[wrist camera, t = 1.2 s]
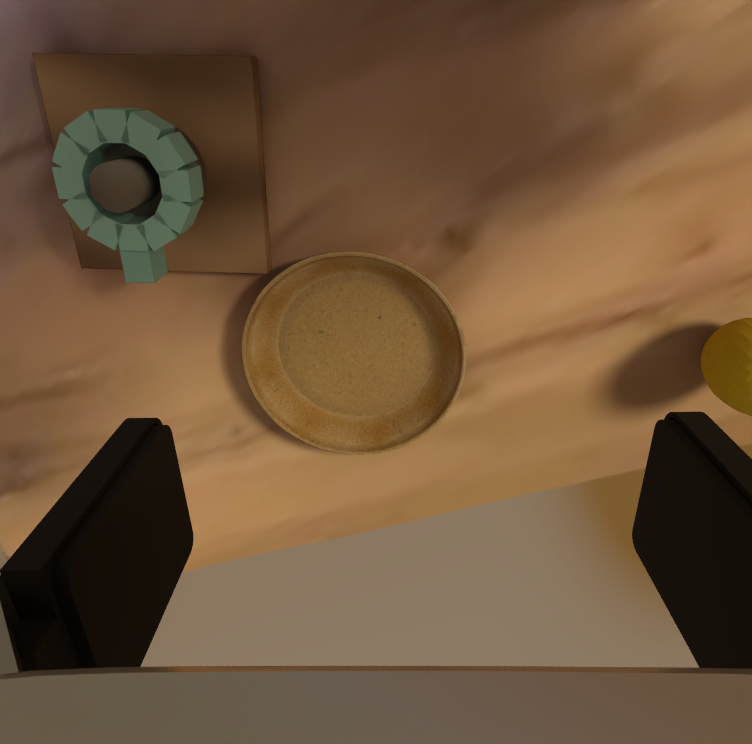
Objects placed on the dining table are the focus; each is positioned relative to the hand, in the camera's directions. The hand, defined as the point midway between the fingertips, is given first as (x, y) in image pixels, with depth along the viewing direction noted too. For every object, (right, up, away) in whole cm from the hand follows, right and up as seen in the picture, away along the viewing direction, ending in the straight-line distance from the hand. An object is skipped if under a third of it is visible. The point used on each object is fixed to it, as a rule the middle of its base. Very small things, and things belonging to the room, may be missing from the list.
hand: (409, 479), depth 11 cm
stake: (-13, +14, +23) cm, 30 cm away
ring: (-14, +13, +20) cm, 27 cm away
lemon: (+22, +4, +27) cm, 35 cm away
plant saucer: (-2, +4, +29) cm, 29 cm away
